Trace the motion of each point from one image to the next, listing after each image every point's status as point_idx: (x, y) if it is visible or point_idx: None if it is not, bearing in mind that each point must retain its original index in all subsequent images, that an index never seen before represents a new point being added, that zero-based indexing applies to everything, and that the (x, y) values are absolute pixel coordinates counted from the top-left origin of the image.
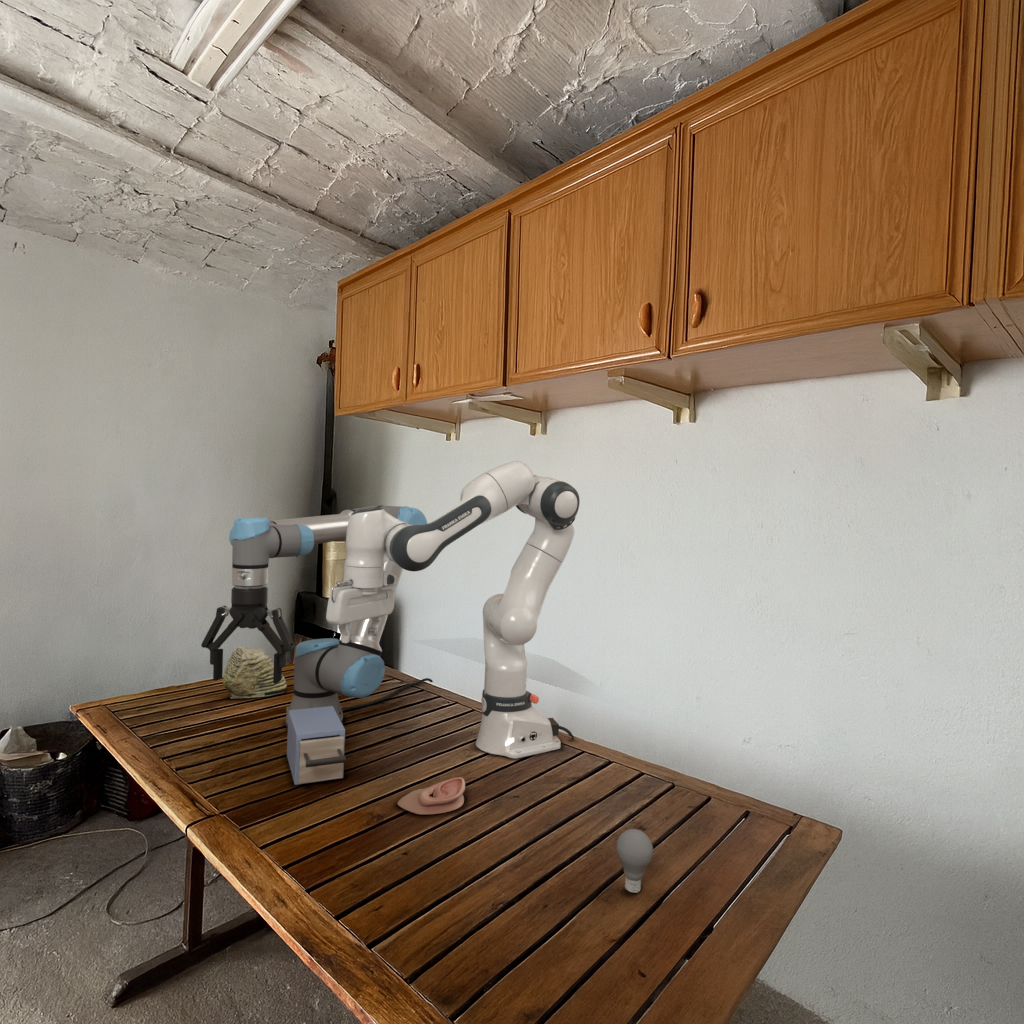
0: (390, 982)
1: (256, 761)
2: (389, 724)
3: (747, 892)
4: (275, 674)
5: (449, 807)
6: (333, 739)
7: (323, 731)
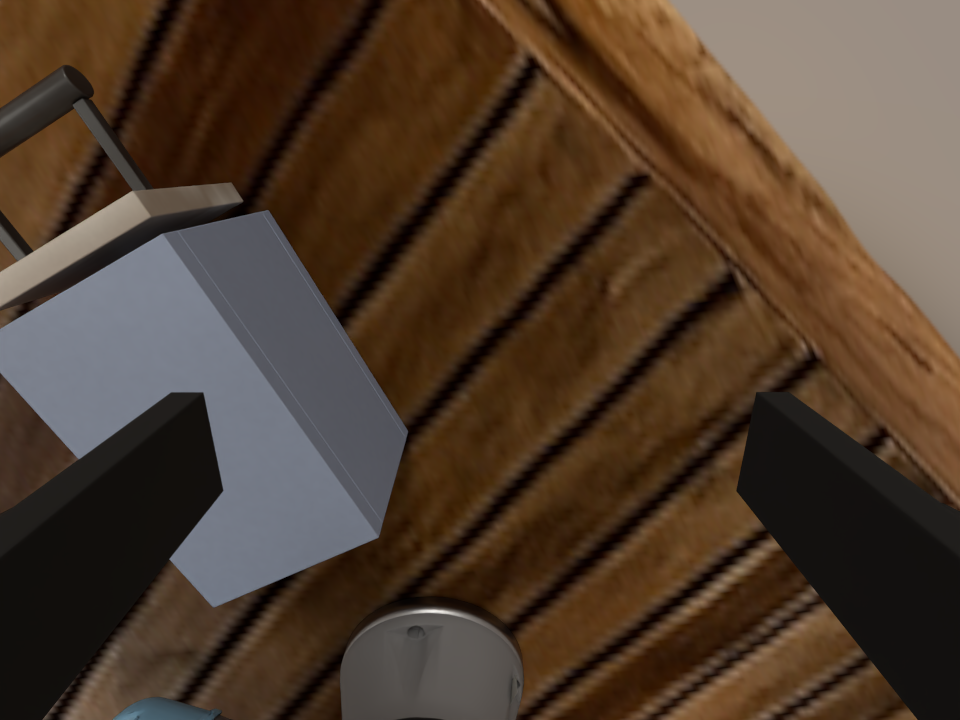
0: None
1: (488, 376)
2: (200, 676)
3: None
4: (128, 432)
5: None
6: (10, 267)
7: (59, 302)
